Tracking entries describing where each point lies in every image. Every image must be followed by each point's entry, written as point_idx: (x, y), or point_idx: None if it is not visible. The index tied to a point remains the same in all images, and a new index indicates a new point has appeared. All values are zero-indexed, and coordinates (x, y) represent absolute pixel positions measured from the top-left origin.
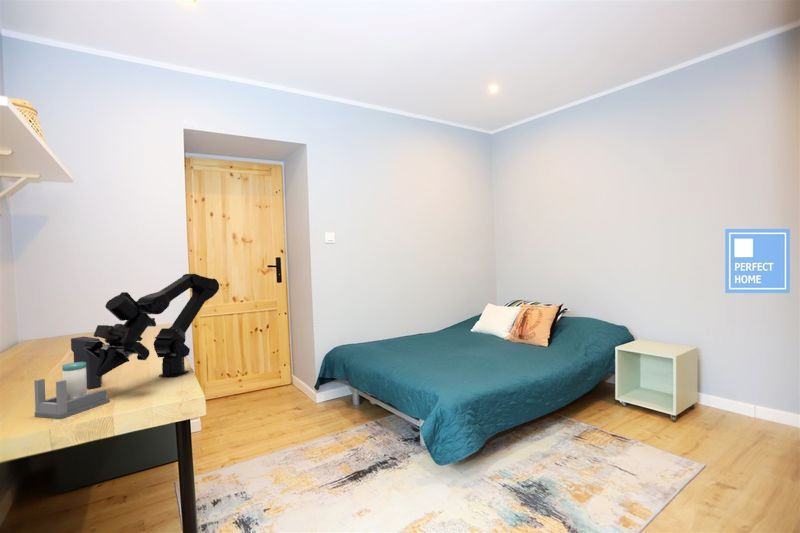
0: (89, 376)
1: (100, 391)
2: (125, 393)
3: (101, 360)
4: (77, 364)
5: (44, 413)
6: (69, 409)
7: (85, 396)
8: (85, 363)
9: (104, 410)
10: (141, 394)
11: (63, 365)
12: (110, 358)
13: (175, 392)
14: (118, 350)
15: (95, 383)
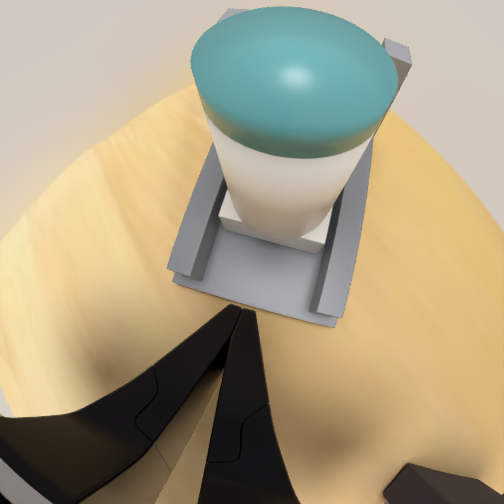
0: (433, 487)
1: (181, 243)
2: None
3: (241, 433)
4: (238, 34)
5: None
6: None
7: (205, 166)
8: (194, 78)
9: (137, 183)
10: (105, 371)
11: (355, 29)
12: (95, 406)
13: (19, 356)
14: (9, 476)
15: (401, 486)
